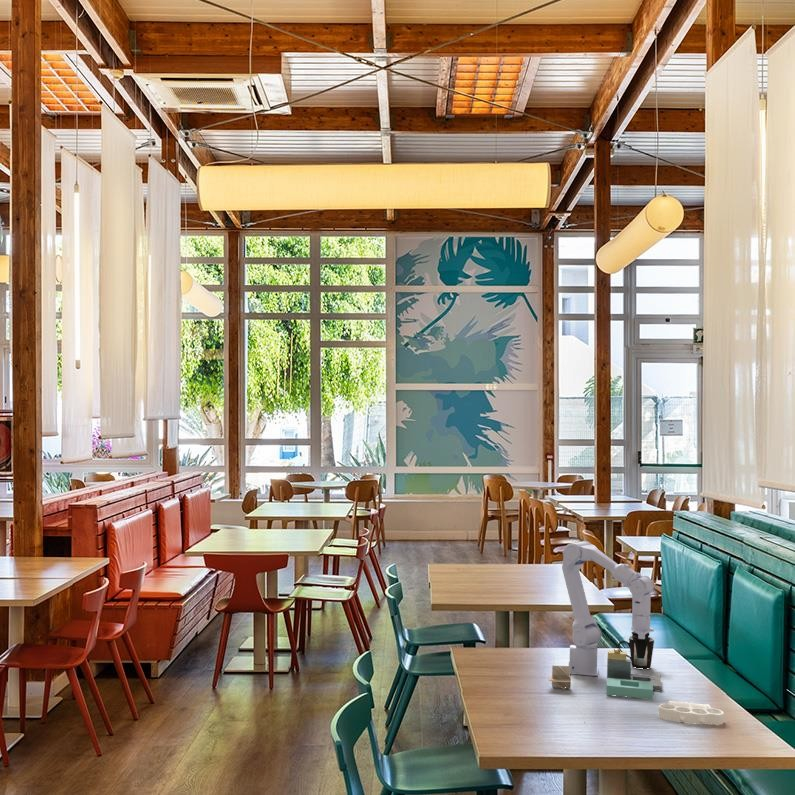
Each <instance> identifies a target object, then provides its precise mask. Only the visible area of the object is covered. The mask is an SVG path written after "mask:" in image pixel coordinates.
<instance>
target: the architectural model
mask: <svg viewBox="0 0 795 795" xmlns="http://www.w3.org/2000/svg"><path fill="white" fill-rule="evenodd" d="M547 678H548V681H549V682H551V688H552V687H562V688H561V689H563V690H566V689H569V688H570V689H572V685H571V684H572V683H571V682H572V678H571V674H570V666H569V665H568V666H567V665H552V666H551V677H550V676H548V677H547ZM565 687H566V688H565ZM570 689H569V690H570Z"/></svg>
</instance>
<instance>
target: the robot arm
mask: <svg viewBox="0 0 795 795" xmlns="http://www.w3.org/2000/svg"><path fill="white" fill-rule="evenodd" d="M561 553H562V556H563V559H562V565H561V569H562V574H563V577H564V581H565V586H566V589H567V595H568V597H569V601H570V605H571V610H572V614H573V617H574V619H573V620H574V621H573V623H572V625H571V629H572V635H571V636H572V637H571V638H572V641H573V643H574V644H570V645H569V661H568V666H570V675H581V676H592V677H599V668H598V645H599V642H600V641H601V638H602V631H601V629H600V628H599V626H598V624H597V621H596V619H595V618H594V617H592V615H591V611H590V608H589V605H588V600H587V596H586V592H585V589H584V584H583V581H582V578H581V574H580V569H582V566H583V565H584V563H586V562H587V561H588V562H589V561H590V562H591V561H592V562H593V563H594V562H595V564H598V566H601V567H602V568H604V569H606V570H607V571H609V572H610V573H611V574H612V577H613V579H615V580H616V581H618V582H619V583H621V584H622V585H624V586H625V587H627V589H629V591H630V593H631V595H632V597H631V598H632V601H631V602H632V605H631V606H632V607H631V610H632V611H631V628H630V629H631V636H632V638H633V640H634V643H635V647H636V653H637V658H642V659H644V657H645V653H646V648H647V645H648V643H649V641H650V638H649V637H650V633H651V632H654V631H655V629H654V628H653V627H651V605H652V604H651V602H652V601H651V597H652V596H651V593H652V592H653V591H654V588H655V584H654V582H653V580H652V579H651V578H650V577H649V576H648V575H642V573H640V572H638V571H637V572H636V571H635V570H634V569H632V568H631V567H630V565H629V564H627V563H625V564H624V563H619V564H618V563H617V562H616V561H614V560H613V559H612V558H610V557H609V556H607V554H605V553H604V552H602V551H601V550H599V549H598V548H597V546H596V545H594V544H592V543H591V542H589V541H587V540H583V541H579V542H570V543H568V544H567V545H565V547H564V548H563V550H562V551H561Z"/></svg>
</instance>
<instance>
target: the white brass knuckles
mask: <svg viewBox="0 0 795 795" xmlns="http://www.w3.org/2000/svg"><path fill="white" fill-rule="evenodd" d="M658 715H659V716H658V718H660V719H662V718H663V719H662V720H664V719H666V720H665V721H673V720H675V721H674V722H677V721H678V722H677V723H680V722H684V723H683V724H685V723H688V724H689V723H696V724H695V725H697V724H708V725H713V724H722V723H724V724H725V713H724V711H723V710H721V709H718V708H714V707H711V705H710V704H709V703H706V704H704V703H703V704H702V703H695V702H691V701H690V702H689V701H688V702H687V701H686V702H685V701H677V700H675V701H674V700H668V703H661V704H659V705H658ZM711 723H712V724H711ZM722 725H723V724H722Z"/></svg>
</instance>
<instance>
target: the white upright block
mask: <svg viewBox="0 0 795 795" xmlns="http://www.w3.org/2000/svg"><path fill="white" fill-rule="evenodd" d="M634 664H635V665H638V666H646V665H647V648H646V653H645V657H644V659H642V658H637V653H636V647H635V643H634Z"/></svg>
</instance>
